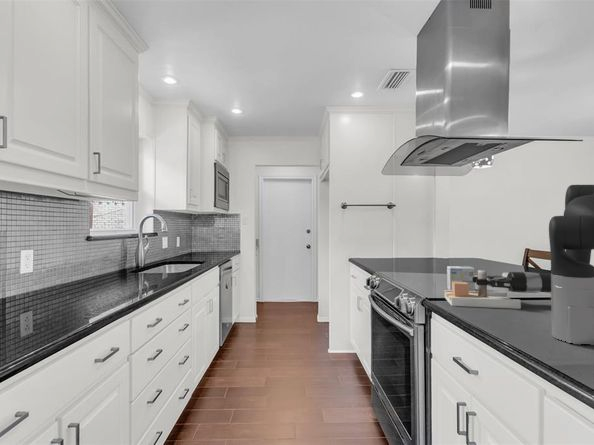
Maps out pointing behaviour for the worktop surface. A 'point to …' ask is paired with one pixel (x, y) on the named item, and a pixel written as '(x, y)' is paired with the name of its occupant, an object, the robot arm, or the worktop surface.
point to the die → (505, 276)
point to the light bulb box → (460, 276)
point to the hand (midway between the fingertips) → (474, 280)
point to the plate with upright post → (481, 288)
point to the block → (460, 289)
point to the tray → (486, 301)
